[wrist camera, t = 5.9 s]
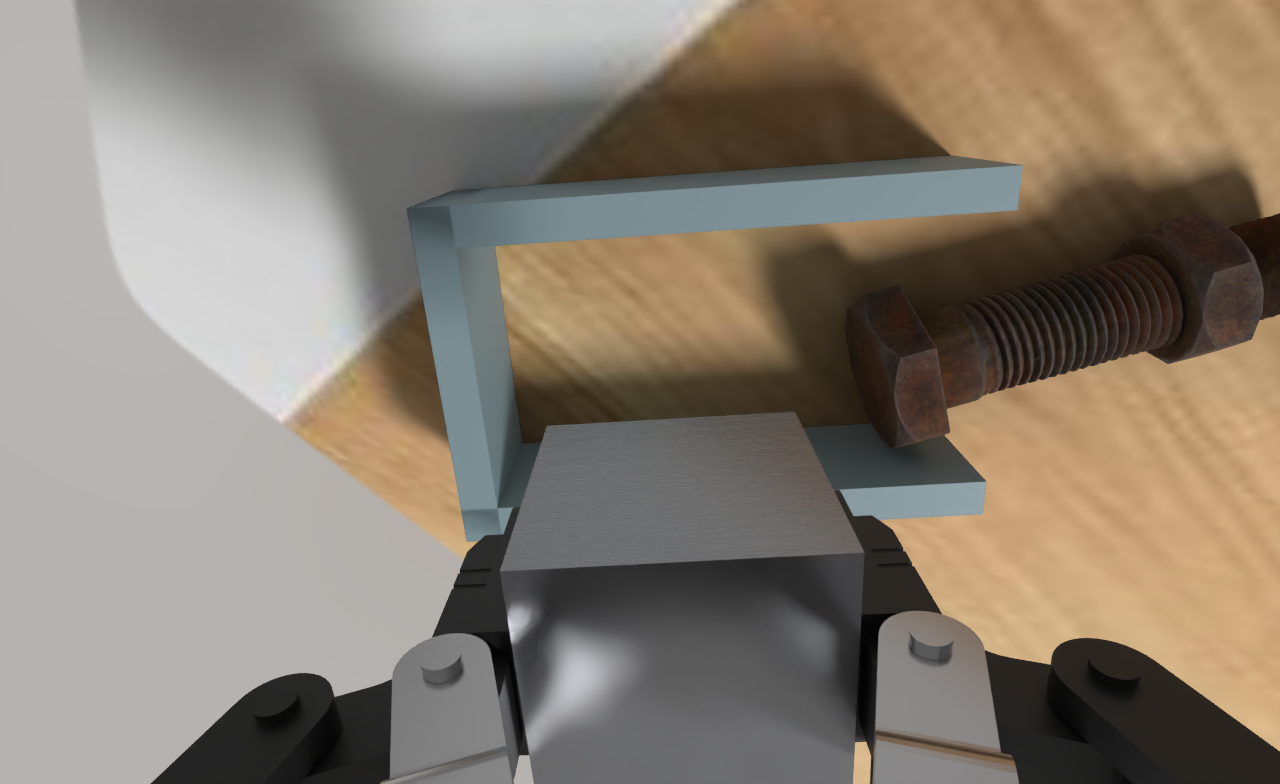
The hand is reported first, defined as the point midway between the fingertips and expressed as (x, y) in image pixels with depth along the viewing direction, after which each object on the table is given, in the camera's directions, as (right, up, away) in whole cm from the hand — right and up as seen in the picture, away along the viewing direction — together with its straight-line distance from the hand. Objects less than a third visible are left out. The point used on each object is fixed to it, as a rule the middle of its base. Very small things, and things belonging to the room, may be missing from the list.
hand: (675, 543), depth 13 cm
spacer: (0, 0, +1) cm, 1 cm away
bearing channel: (+2, +5, +13) cm, 14 cm away
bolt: (+14, +6, +13) cm, 21 cm away
